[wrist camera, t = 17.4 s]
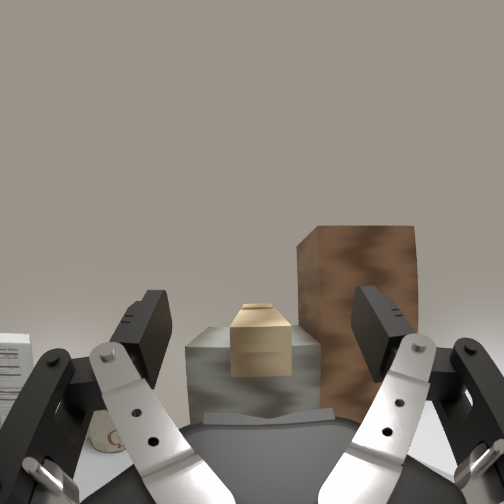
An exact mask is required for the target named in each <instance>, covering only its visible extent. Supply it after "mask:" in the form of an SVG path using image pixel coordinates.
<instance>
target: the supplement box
mask: <svg viewBox="0 0 504 504" xmlns="http://www.w3.org/2000/svg"><path fill="white" fill-rule="evenodd" d="M33 369H34V367H33V356H32V348H31V339H30V335H29V334H7V333H0V415H1V419H2V422H3V423H4V421H5V419H6V417H7V415H8V413H9V411H10V409H11V408H12V406H13V404H14V402H15V400H16V398H17V396H18V395H19V393H20V391H21V389H22V388H23V386H24V384H25V382H26V381H27V379H28V377H29V375H30V374H31V372H32V370H33Z"/></svg>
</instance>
